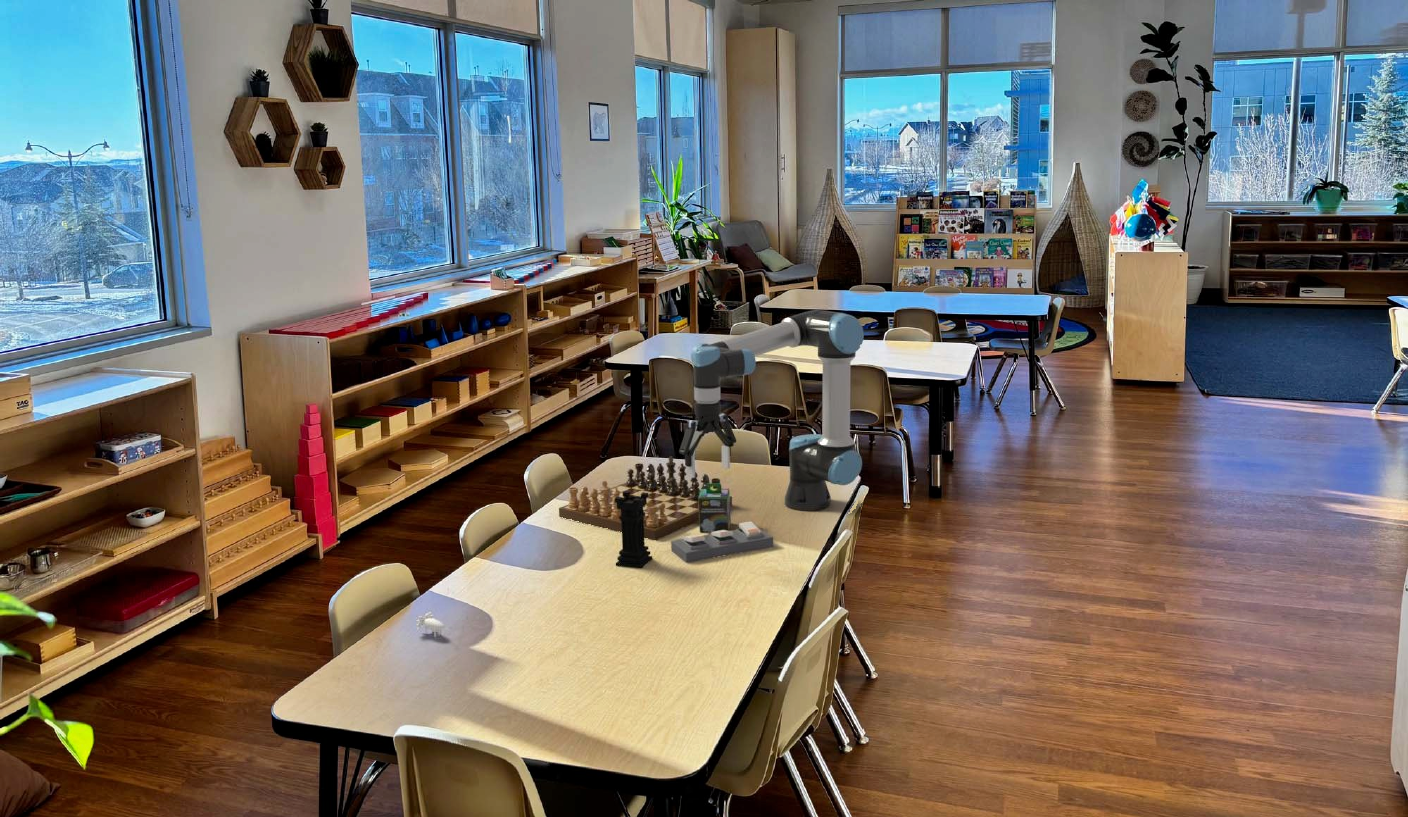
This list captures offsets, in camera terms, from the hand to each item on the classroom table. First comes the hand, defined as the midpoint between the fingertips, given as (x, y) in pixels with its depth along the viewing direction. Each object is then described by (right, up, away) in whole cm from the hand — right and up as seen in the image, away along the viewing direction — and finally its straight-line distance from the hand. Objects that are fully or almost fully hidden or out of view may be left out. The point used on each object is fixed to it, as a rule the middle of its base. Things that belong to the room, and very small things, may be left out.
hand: (708, 472), depth 324 cm
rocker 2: (+12, -17, +6) cm, 22 cm away
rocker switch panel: (+4, -23, +4) cm, 23 cm away
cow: (-67, -37, -51) cm, 92 cm away
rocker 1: (-4, -20, -1) cm, 20 cm away
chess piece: (-21, -26, -5) cm, 34 cm away
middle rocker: (+4, -18, +3) cm, 19 cm away
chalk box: (+2, -19, +22) cm, 29 cm away
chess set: (-20, -16, +40) cm, 47 cm away
